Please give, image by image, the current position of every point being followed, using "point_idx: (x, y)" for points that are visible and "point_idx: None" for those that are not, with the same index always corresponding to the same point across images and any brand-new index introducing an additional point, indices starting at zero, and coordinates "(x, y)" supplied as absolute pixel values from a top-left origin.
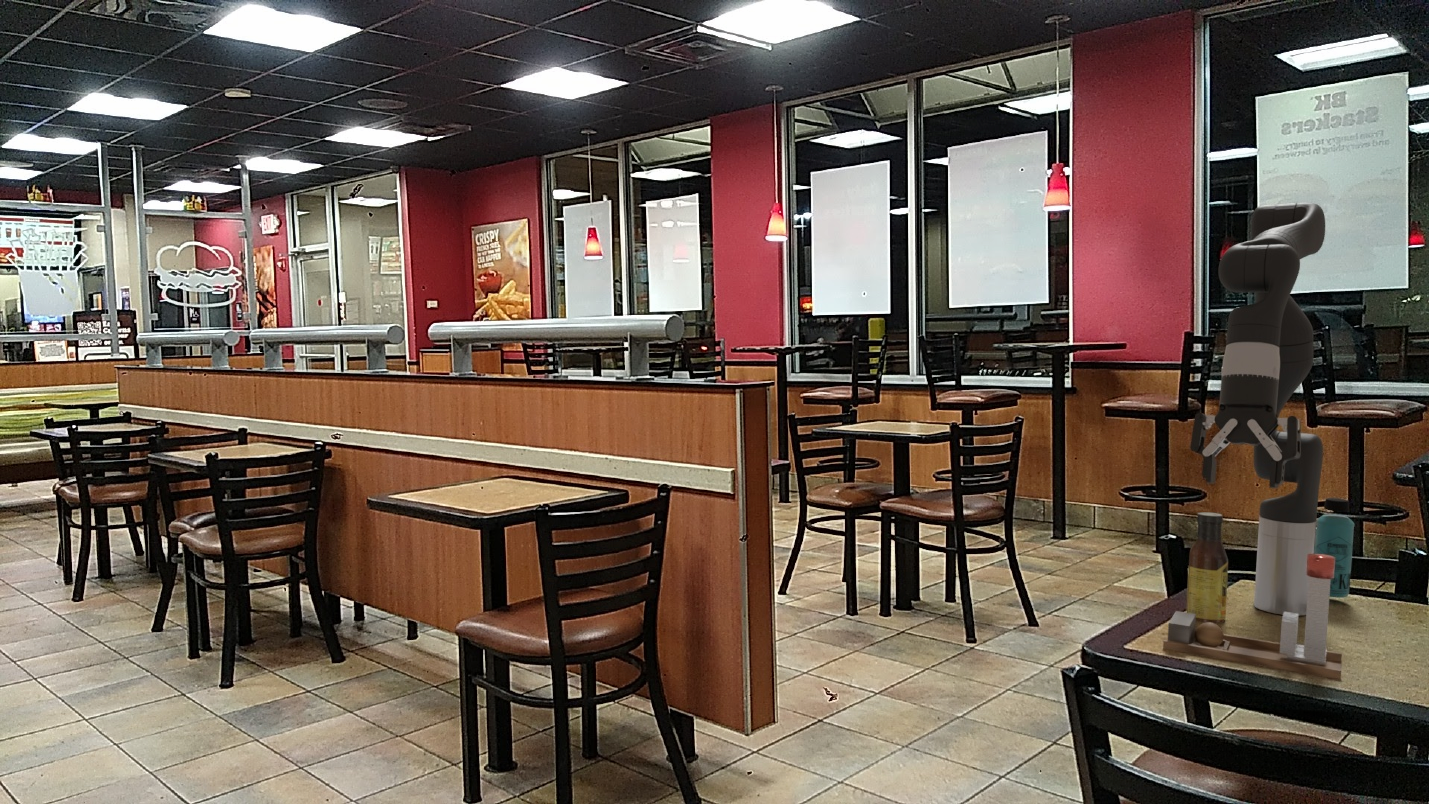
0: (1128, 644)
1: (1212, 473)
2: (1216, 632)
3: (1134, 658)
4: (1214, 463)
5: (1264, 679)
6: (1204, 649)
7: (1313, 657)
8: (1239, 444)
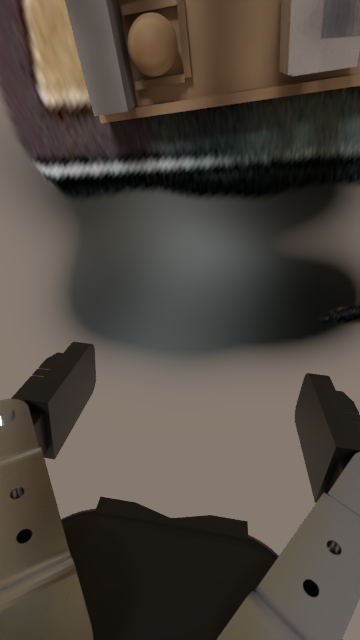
0: (39, 79)
1: (81, 396)
2: (167, 65)
3: (82, 154)
4: (61, 413)
5: (255, 117)
6: (162, 113)
7: (338, 50)
8: (130, 507)
